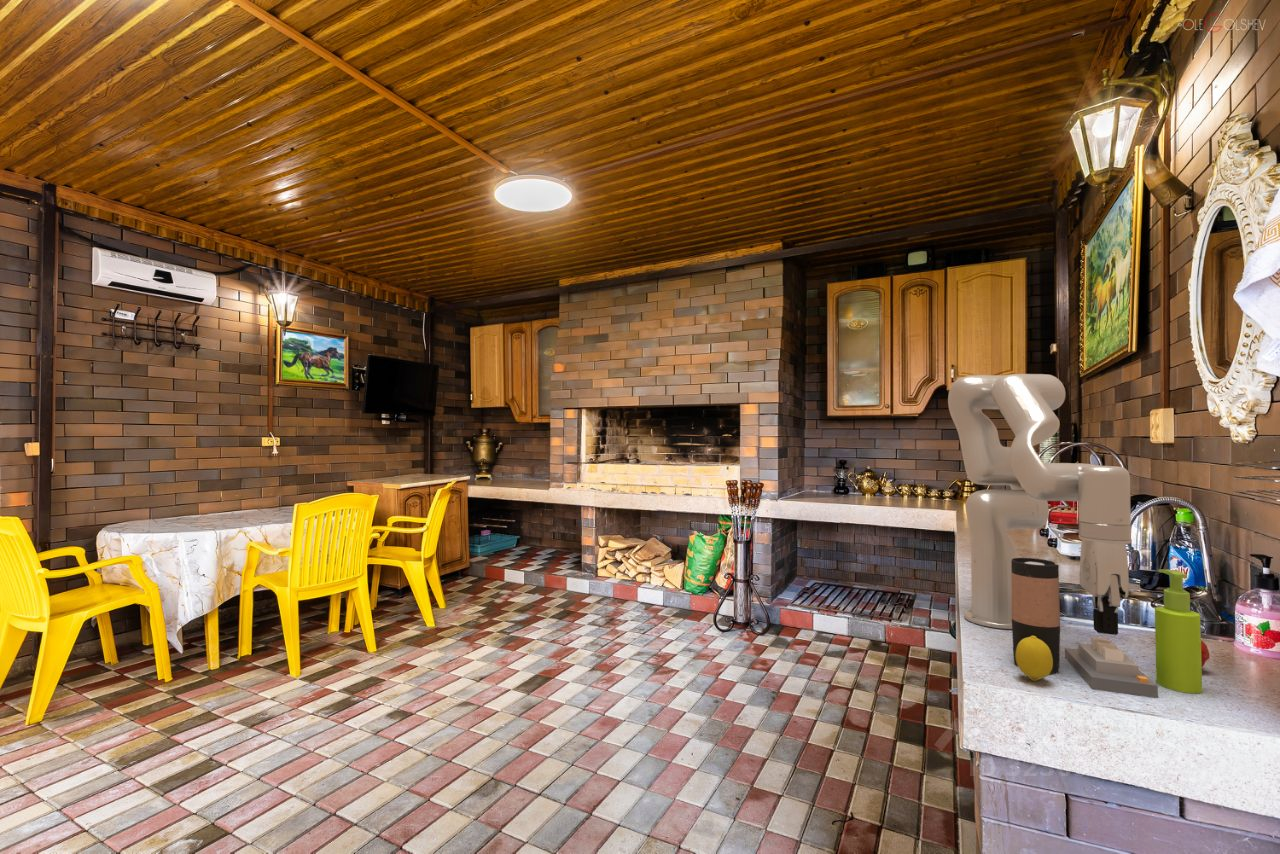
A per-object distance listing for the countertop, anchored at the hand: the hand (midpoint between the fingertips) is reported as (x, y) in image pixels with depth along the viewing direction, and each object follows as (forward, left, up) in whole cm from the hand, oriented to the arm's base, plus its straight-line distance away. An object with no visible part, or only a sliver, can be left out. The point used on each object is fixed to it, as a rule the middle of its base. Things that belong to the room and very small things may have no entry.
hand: (1105, 632), depth 106 cm
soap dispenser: (0, +10, -8) cm, 13 cm away
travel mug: (0, -11, -8) cm, 14 cm away
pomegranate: (-11, +15, -8) cm, 20 cm away
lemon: (+8, -13, -8) cm, 17 cm away
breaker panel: (0, 0, -8) cm, 8 cm away
